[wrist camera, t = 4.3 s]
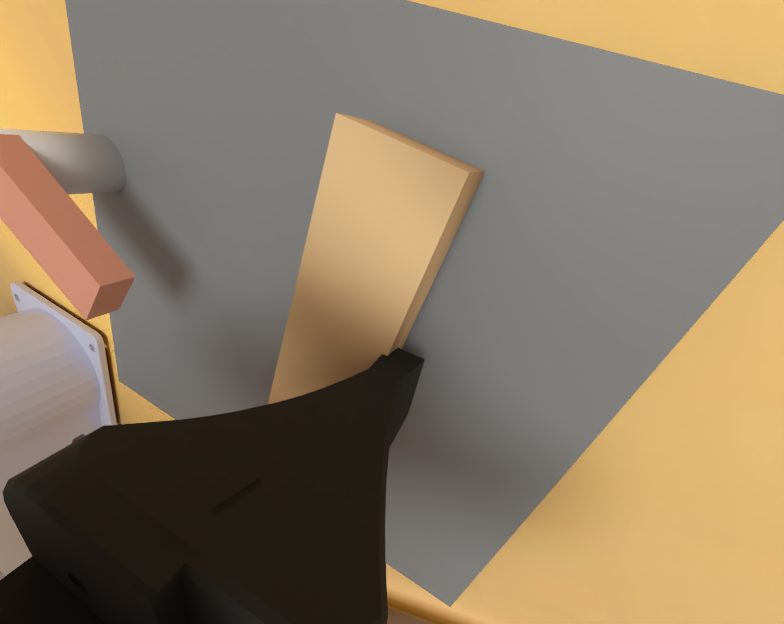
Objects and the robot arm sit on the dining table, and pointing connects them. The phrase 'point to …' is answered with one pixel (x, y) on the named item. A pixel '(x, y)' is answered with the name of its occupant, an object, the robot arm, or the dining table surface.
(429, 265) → the oak link
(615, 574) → the dining table surface
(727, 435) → the dining table surface
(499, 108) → the board
